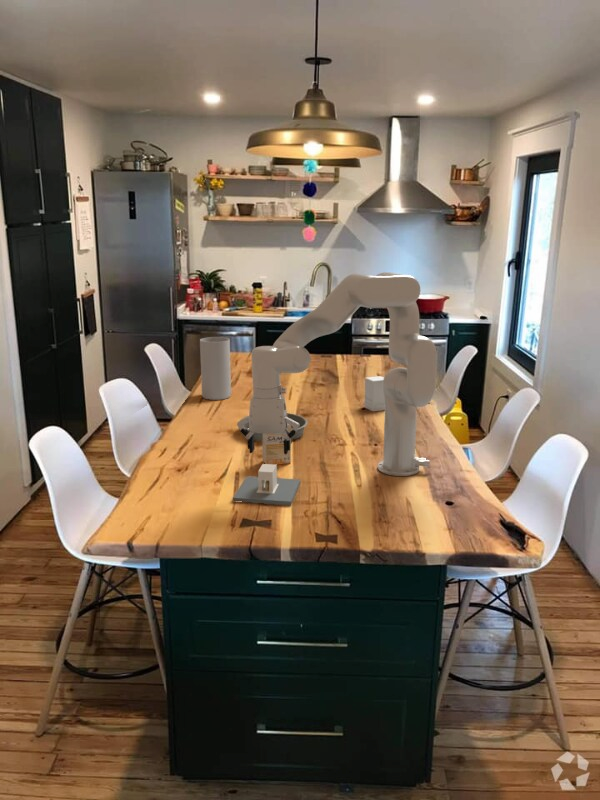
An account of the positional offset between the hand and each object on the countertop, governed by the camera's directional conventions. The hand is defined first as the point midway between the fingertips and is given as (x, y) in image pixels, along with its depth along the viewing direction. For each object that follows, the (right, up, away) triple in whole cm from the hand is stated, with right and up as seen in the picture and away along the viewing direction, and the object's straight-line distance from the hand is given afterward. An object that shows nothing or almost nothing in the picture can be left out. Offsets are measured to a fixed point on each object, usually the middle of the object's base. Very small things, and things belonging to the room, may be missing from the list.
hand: (269, 452), depth 186 cm
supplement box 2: (+39, +11, +87) cm, 96 cm away
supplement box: (+1, -6, +26) cm, 27 cm away
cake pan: (-1, +2, +56) cm, 56 cm away
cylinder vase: (-28, +16, +105) cm, 109 cm away
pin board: (-1, -12, +3) cm, 12 cm away
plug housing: (-1, -10, +2) cm, 11 cm away
